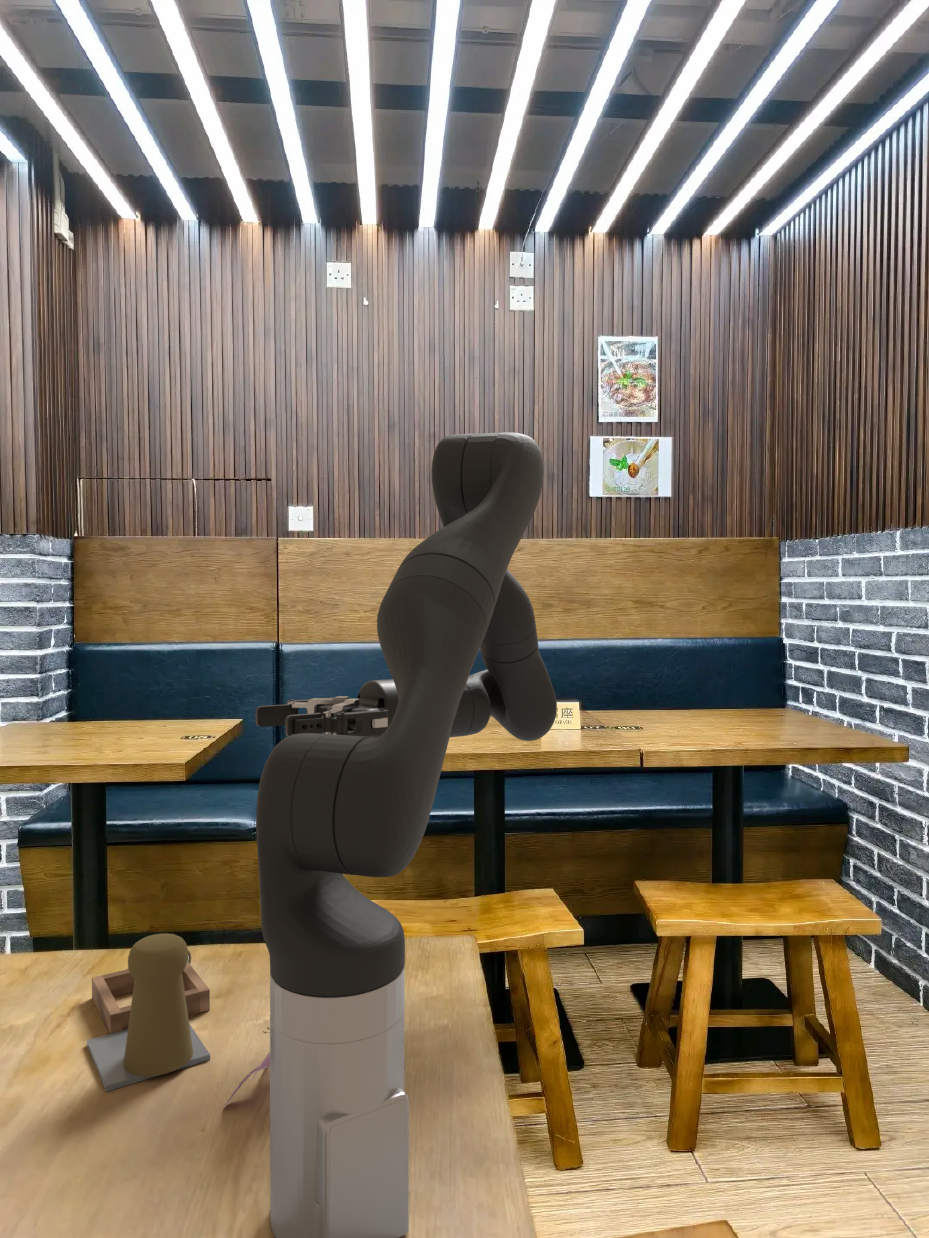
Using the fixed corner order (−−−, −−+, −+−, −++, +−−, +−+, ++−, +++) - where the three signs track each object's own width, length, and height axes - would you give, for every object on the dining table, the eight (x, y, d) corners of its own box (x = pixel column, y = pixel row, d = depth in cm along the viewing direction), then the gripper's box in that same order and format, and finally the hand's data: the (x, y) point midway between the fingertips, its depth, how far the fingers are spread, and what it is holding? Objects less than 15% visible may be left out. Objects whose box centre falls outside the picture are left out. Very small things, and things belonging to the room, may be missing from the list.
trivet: (210, 1059, 77) (210, 1054, 77) (106, 1091, 72) (106, 1085, 72) (182, 1018, 84) (182, 1013, 84) (86, 1045, 79) (86, 1039, 79)
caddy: (209, 1010, 86) (209, 989, 86) (110, 1037, 81) (110, 1014, 81) (183, 975, 94) (183, 955, 94) (92, 997, 89) (91, 977, 88)
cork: (204, 1041, 79) (203, 927, 79) (175, 1078, 73) (175, 954, 73) (143, 1038, 80) (143, 924, 79) (110, 1073, 74) (109, 951, 73)
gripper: (376, 674, 102) (247, 680, 93) (438, 683, 90) (297, 691, 81) (375, 735, 102) (247, 747, 93) (438, 753, 90) (297, 768, 81)
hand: (270, 721), depth 87 cm, fingers open, 8 cm apart
